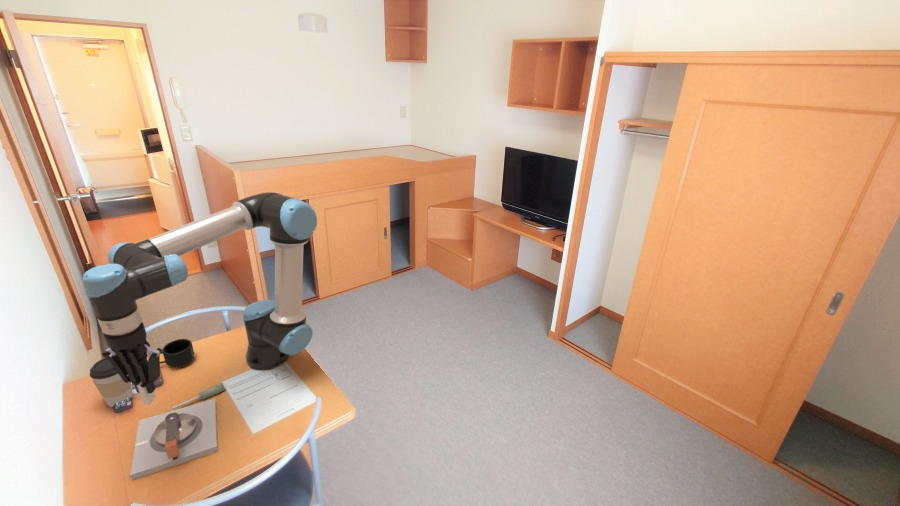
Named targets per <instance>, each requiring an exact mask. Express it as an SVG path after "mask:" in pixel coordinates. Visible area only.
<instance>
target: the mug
mask: <svg viewBox="0 0 900 506" xmlns="http://www.w3.org/2000/svg"><path fill="white" fill-rule="evenodd" d="M161 349H162V352H161V354H162V355H163V359H164V360H162V361H160V365H161V364H166V365H167V366H168V367H170V368H177V369H178V368H182V367H185V366H187V365H189V364H190V363H192V361H193V360H194V358H195V350H194V346H193V343H192V341H191V340H190V339H187V338H180V339H174V340H173V341H170V342H168V343H166V344H165V345H164V346H163V347H162V348H161ZM161 354H160V355H161Z"/></svg>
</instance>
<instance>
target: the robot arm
mask: <svg viewBox="0 0 900 506" xmlns="http://www.w3.org/2000/svg"><path fill="white" fill-rule="evenodd" d="M317 224H318V218H317V213H316V211H315V209H314V208H313V207H312V206H311V205H310V204H309V203H307V202H305V201H303V200H301V199H298V198H295V197H291V196H287V195H283V194H281V193H277V192H270V191H269V192H262V193H261V192H260V193H258V194H253V195H250V196H247V197H245V198H241V199H239V200H236V201H233V203H232V204H231V206H230V207H227V208H225V209H223V210H219V211H216V212H214V213H212V214H209V215H207V216H204V217H201V218H199V219H196V220H193V221H191V222H188V223H185V224H183V225H181V226H178V227H176V228H172V229H170V230H168V231H165V232H163V233H160V234H157V235H155V236H151V237H150V238H147V239H144V240H142V241H138V242H136V243H134V242H129V241H128V242H127V241H125V242H119V243H116V244H115V245H114V246H113V245H112V247H111V248H110V250H109V251H108V253H107V260H108V264H101V265H97V266H94V267H92V268H90V269H88V270H87V271H85V272H84V274H83V275H82V283H83V286H84V290H85V295H86V296H87V297H88V299H89V302H90V304H91V306H92V309H93V311H94V313H95V316H96V319H97V322H98V324H99V326H100V329H101V332H102V334H103V337H104V339H105V342H106V345H107V347H108V348H107V349H106V350H105V351H104V352H102V353H101V355H102V356H103V358H106V359H108V360H109V361H110V363H111V364H112V366H113V367H114V368H115V370H116V371H117V373H118V374H119V375H120V377H121V378H122V380H123V381H124V382H125V383H128V382H131V385H134V388H135V390H136V392H137V394H139V395H140V398H141V401H142V403H143V405H145V406H146V405H147V406H149V405H151V404H153V402H154V401H155V399H156V398H157V394H156V392H155V390H156V386H155V382H156V381H157V380H158V379H159V377H160V375H161V367H160V365H161V364H160V362H161V361H160V359H161V356H160V355H161V352H162V349H163V348H160V347H157V348H156V349H155V348H154V347H151V344H150V343H149V342H148V341H147V331H146V328H145V325H144V322H143V319H142V316H141V313H140V310H139V307H138V304H137V301H136V300H139V299H143V298H145V297H147V296H150V295H153V294H156V293H158V292H161V291H165V290H167V289H170V288H171V287H175V286H176V285H179V284H181V283H182V282H185V281H186V280H187V279H188V278H189V277H188V276H189V271H188V267H187V264H186V262H185V261H184V259H183V258H182V256H184V255H185V254H188V253H191V252H193V251H195V250H197V249H200V248H202V247H204V246H207V245H209V244H212V243H214V242H217V241H218V240H221V239H223V238H225V237H228V236H230V235H232V234H234V233H237V232H239V231H242V230H245V231H249V230H252V229H254V228H258V227H259V228H260V227H263V228H267V229H269V241H270V242H271V243H272V244H273V245H274V252H275V253H274V300H273V299H262V300H261V299H260V300H257V301H255V302H253V303H251V304H249V305H247V306H246V307H245V308H244V310H243V311H242V317H243V319H242V320H243V322H244V328H245V332H246V337H247V343H248V345H247V348H246V349H247V350H246V354H245V360H246V364H247V366H249V368H251V369H252V370H257V371H259V370H260V371H266V370H271V369H275V368H277V367H279V366H281V365H282V364H284V363H285V362H286V361H287V360H288V359H289V358H290V356H294V355H295V356H296V355H297V354H299V353H301V352H302V351H304V350H305V349H306V348H307V346H308V345H309V344H310V343H311V341H312V338H313V335H314V333H313V328H312V327H311V326H310V324H307V313H306V311H305V310H304V309H303V274H304V273H303V271H304V245H306V244H307V243H308V242H309V238H310V237H311V236H313V234H314V231H316V230H317V226H318V225H317ZM127 375H128V376H127Z"/></svg>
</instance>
